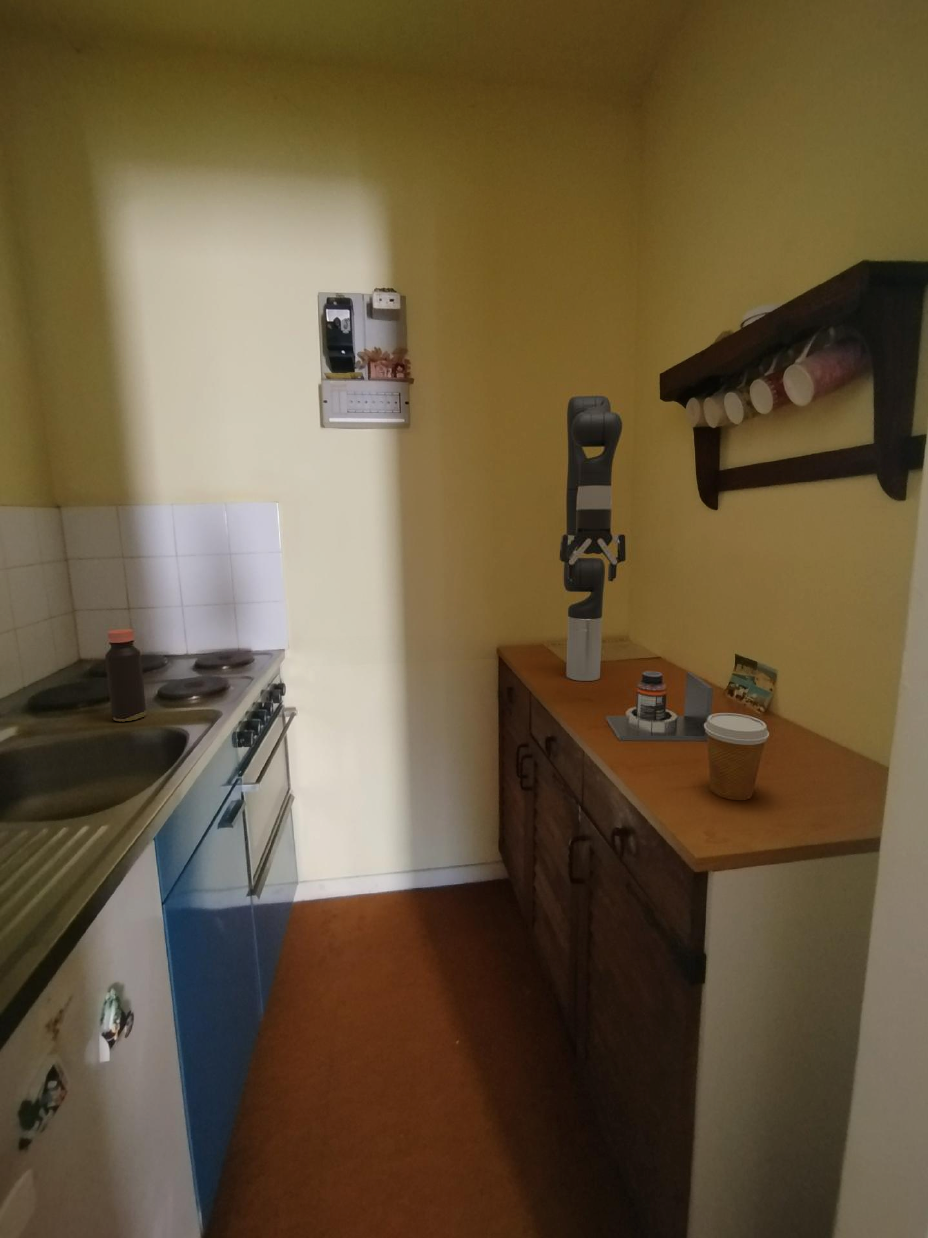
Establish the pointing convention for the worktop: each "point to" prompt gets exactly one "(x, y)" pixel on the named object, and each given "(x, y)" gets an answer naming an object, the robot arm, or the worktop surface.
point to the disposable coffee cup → (734, 753)
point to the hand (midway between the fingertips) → (591, 581)
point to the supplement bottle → (651, 697)
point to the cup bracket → (670, 718)
